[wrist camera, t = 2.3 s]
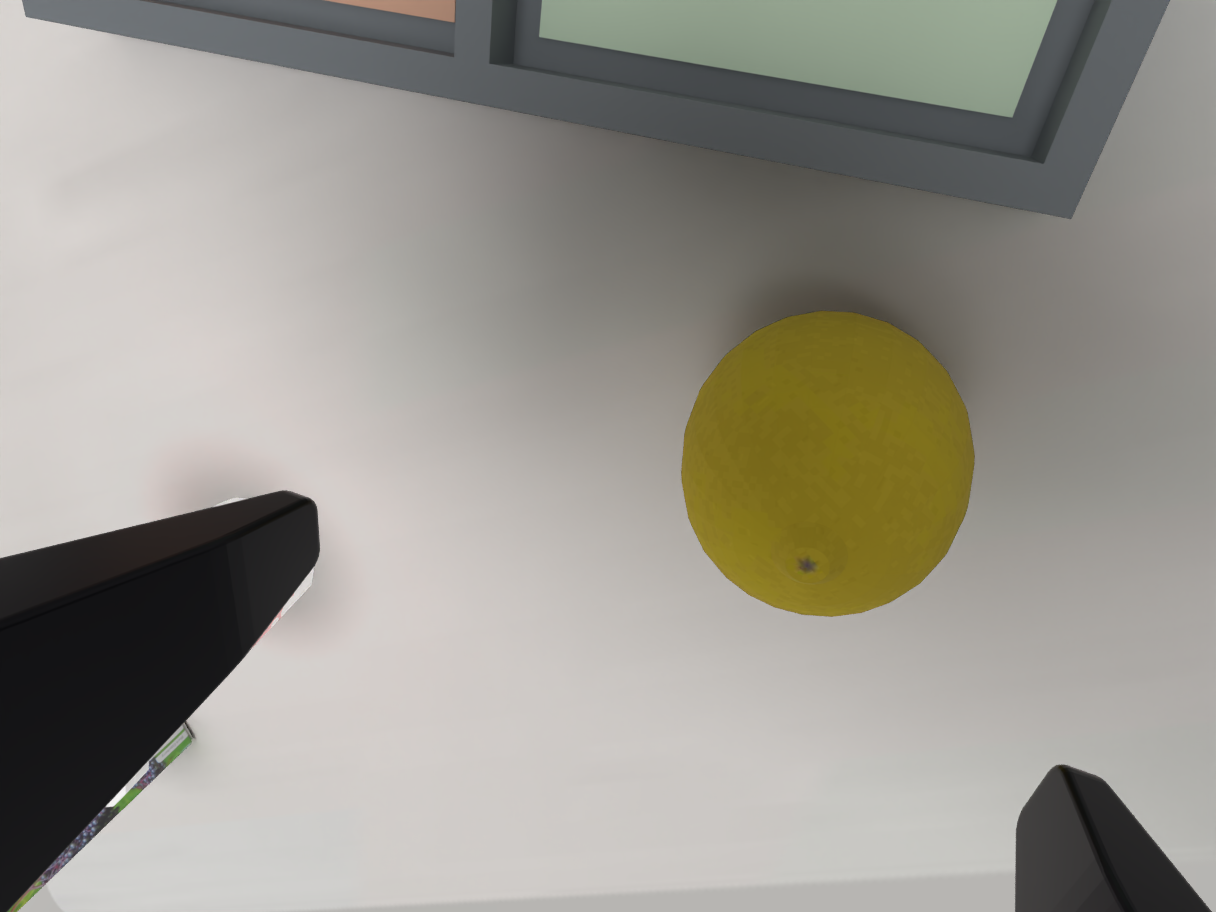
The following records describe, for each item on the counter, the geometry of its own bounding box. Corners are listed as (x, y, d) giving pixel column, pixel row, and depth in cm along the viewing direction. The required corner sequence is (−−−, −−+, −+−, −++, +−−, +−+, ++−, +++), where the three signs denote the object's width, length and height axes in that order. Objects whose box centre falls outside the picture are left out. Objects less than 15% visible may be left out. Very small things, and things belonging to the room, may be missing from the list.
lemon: (1004, 341, 17) (1097, 529, 10) (866, 515, 19) (864, 752, 13) (786, 229, 17) (732, 336, 10) (683, 417, 20) (587, 597, 13)
